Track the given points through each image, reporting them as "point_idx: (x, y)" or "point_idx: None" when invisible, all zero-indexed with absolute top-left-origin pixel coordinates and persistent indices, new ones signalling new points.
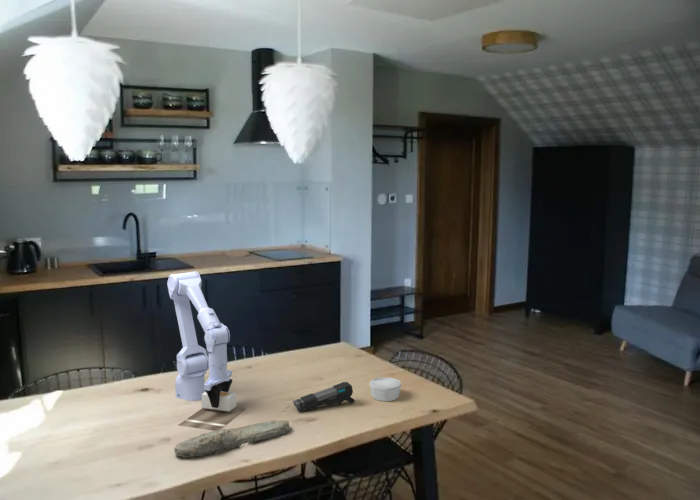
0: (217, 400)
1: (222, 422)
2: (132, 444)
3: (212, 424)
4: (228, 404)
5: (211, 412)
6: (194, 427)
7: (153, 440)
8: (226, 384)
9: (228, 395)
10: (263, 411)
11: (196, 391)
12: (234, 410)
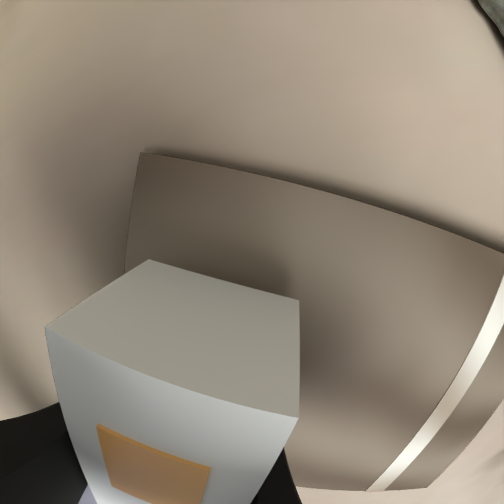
0: (293, 487)
1: (467, 300)
2: (487, 496)
3: (483, 357)
4: (295, 353)
5: None
6: (482, 426)
7: (490, 477)
8: (16, 497)
9: (174, 433)
10: (145, 26)
11: (94, 502)
12: (195, 260)
